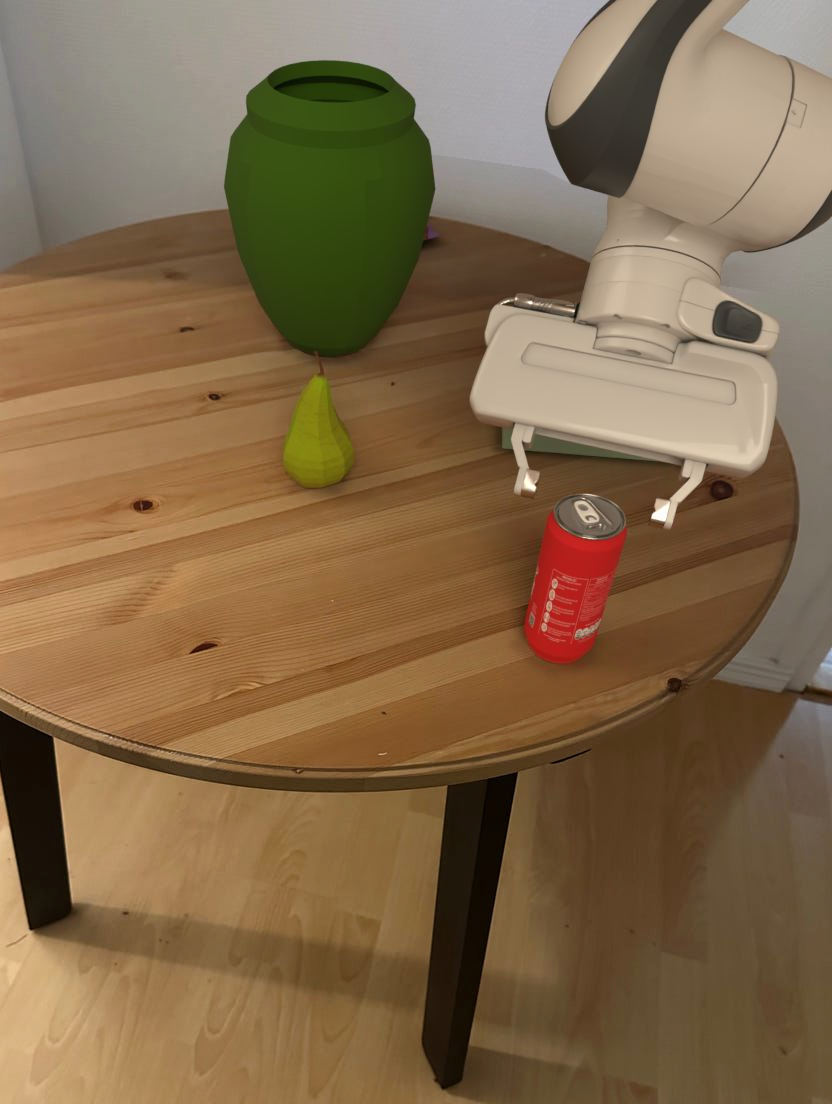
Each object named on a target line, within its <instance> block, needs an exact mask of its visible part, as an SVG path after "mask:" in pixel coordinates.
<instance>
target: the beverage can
mask: <svg viewBox="0 0 832 1104" xmlns="http://www.w3.org/2000/svg"><path fill="white" fill-rule="evenodd" d="M627 534H628V528H627V517H626V514H625V512H624V510H623V509H622V508H621V507H620V506H619V505H618V504H617V503H616V502H613V500H610V499H609V498H606V497H604V496H601V495H598V494H593V493H584V492H583V493H580V492H579V493H573V494H568V495H566V496H564V497H562V498H560V499H559V500H558V501H556V503H555V504H554V506H553V509H552V510H551V511H550V513H549V514H548V515H547V519H546V524H545V528H544V533H543V536H542V541H541V547H540V550H539V555H538V559H537V565H536V569H535V573H534V577H533V583H532V586H531V592H530V596H529V601H528V605H527V610H526V615H525V619H524V623H523V624H524V625H523V630H524V636H526V640H527V645H528V648H529V649H530V651H531V652H532V653H533V654H534V655H535V656H537V658H539V659H541V660H543V661H545V662H548V663H551V664H557V665H567V664H573V663H575V662H577V661H579V660H581V659H582V658H583V657H584V656H585V654H586V653H588V652H589V651H590V650H591V649H592V647H593V646H594V645H595V642H596V638H597V636H598V632H599V629H600V625H601V622H602V619H603V616H604V612H605V609H606V605H607V602H608V599H609V594H610V592H611V589H612V585H613V582H614V579H615V575H616V573H617V569H618V565H619V562H620V559H621V555H622V552H623V549H624V545H625V542H626V539H627Z"/></svg>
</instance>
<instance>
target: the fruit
mask: <svg viewBox="0 0 832 1104" xmlns="http://www.w3.org/2000/svg"><path fill="white" fill-rule="evenodd" d="M314 354H315V355H314V356H315V358H316V361H317V364H318V365H319V366H318V367H319V372H317V373H315V374H314V375H313V376H312V378H311V379H310V381H309V382H308V384H307V385H305V387H304V389H302V391H301V393H300V395H299V397H298V399H297V401H296V404H295V405H294V409H293V412H292V415H291V419H290V423H289V426H288V429H287V432H286V434H285V436H284V438H283V442H282V462H283V469H284V471H285V473H286V475H287V476H288V477H289V478H290V479H291V480H293V481H294V482H296V483H297V484H298V485H300V486H302V487H303V488H308V489H323V488H325V487H329V486H332V485H334V484H337V483H339V482H341V481H342V480H343V478H344V477H345V476H346V475H347V474H348V473H349V472H350V471H351V470H352V468H353V466H354V463H355V449H354V446H353V442H352V440H351V437H350V433H349V430H348V428H347V427H346V425H345V423H344V422H343V421H342V419H341V418H340V417H339V414H338V412H337V410H336V408H335V405H334V401H333V396H332V392H331V387H330V384H329V381H328V379H327V377H326V375H325V371H324V367H323V364H322V361H321V357H320V356H318V353H317V351H315V352H314Z"/></svg>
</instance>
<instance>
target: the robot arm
mask: <svg viewBox="0 0 832 1104" xmlns="http://www.w3.org/2000/svg"><path fill="white" fill-rule="evenodd" d="M749 1H750V0H608V1H607V2H606V3H605V4H603V5H602V6H601V7H600V8H599V9H598V10H597V11H596V12H595V14H593V16H592V17H591V18H590V19H589V20H588V21H587V23H585V25H584V26H583V27H582V29H581V30H580V31H579V33H578V34H577V36H576V37H575V39H574V40H573V42H572V43H571V45H570V47H569V48H568V49H567V51H566V53H565V55H564V57H563V59H562V61H561V63H560V64H559V67H558V69H557V71H556V74H555V76H554V79H553V80H552V84H551V86H550V89H549V92H548V96H547V100H546V103H545V111H544V122H545V127H546V132H547V135H548V139H549V141H550V144H551V148H552V150H553V152H554V155H555V157H556V160H557V162H558V165H559V166H560V167H561V170H562V171H563V174H564V175H565V177H566V179H567V180H568V182H569V183H570V184H571V185H572V186H576V187H579V188H583V189H586V190H590V191H592V192H597V193H600V194H603V195H607V200H606V225H605V229H604V233H603V235H602V237H601V239H600V241H599V243H598V244H597V246H596V247H595V249H594V251H593V254H592V256H591V260H590V263H589V268H588V271H587V275H586V279H585V283H584V287H583V290H582V294H581V296H580V301H579V302H574V301H568V300H561V299H557V298H556V299H555V298H549V299H548V298H543V297H537V296H535V295H533V294H530V293H516V294H515V295H514V297H506V298H503V299H501V300H500V301H498V302H497V303H495V305H493V307H492V308H491V309H490V312H489V314H488V316H487V319H486V324H485V327H484V332H483V342H484V346H485V348H486V350H485V352H484V354H483V357H482V358H481V361H480V364H479V366H478V368H477V372H476V375H475V377H474V381H473V383H472V387H471V390H470V393H469V407H470V409H471V411H472V413H473V415H474V416H475V418H476V419H477V421H478V422H479V423H481V424H484V425H488V426H493V427H498V428H502V427H503V428H507V429H512V430H513V433H512V437H511V442H512V446H513V449H512V450H513V453H514V457H515V461H516V464H517V468H518V472H517V476H516V480H515V484H514V488H513V495H514V496H517V497H521V498H525V499H530V500H535V498H536V496H537V492H538V489H537V487H538V486H539V484H540V480H541V478H542V477H541V471H538V470H535V469H530V466H529V463H528V459H527V456H526V452H525V450H524V448H523V446H524V447H525V448H528V449H530V448H532V444H533V441H534V437H535V435H540V436H544V437H549V438H554V439H558V440H563V441H568V442H572V443H577V444H582V445H586V446H591V447H595V448H600V449H605V450H609V451H614V452H619V453H623V454H628V455H633V456H637V457H642V458H647V459H651V460H656V461H655V462H659V461H660V462H661V463H666V464H671V465H675V466H679V467H680V470H679V475H678V478H677V479H678V482H679V483H683V485H682V486H680V488H679V489H677V491H676V492H675V493H674V494H673V495H672V496H671V497H670V498H669V499H665V498H659V497H656V498H655V499H654V502H653V505H652V509H651V512H652V513H651V515H650V516H649V519H648V524H647V526H649V527H652V528H653V527H654V528H657V529H661V530H665V531H670V530H671V529H672V526H673V523H674V521H675V520H674V519H675V516H676V513H677V508H678V507H679V505H680V504H682V503H683V501H684V500H686V498H688V496H689V495H690V494H691V493H693V492H694V490H696V488H697V487H698V486H700V484H701V483H702V482H703V479H704V475H705V472H708V473H712V474H716V475H720V476H725V477H726V476H727V477H731V478H735V479H746V478H747V477H749V476H751V475H752V474H754V473H755V472H757V471H758V470H760V469H761V467H762V466H763V465H764V463H765V462H766V460H767V457H768V453H769V450H770V445H771V441H772V436H773V432H774V427H775V419H776V415H777V414H776V413H777V405H778V395H779V394H778V393H779V384H778V383H779V381H778V375H777V372H776V370H775V368H774V366H773V364H772V363H771V362H770V361H769V360H770V358H771V357H772V355H773V353H774V350H775V349H776V346H777V343H778V341H779V336H780V329H781V328H780V324H779V322H778V320H776V319H774V317H772V316H770V315H769V314H767V313H765V312H763V311H761V310H759V309H757V308H755V307H753V306H751V305H749V304H747V303H746V302H744V301H741V300H740V299H738V298H736V297H734V296H733V295H731V294H730V293H728V292H726V291H724V290H722V289H721V288H720V287H721V284H722V273H723V271H722V270H723V265H724V263H725V261H726V259H727V258H728V257H729V256H730V255H731V254H733V253H735V252H743V253H749V254H751V253H752V254H753V253H759V252H764V251H768V250H772V249H777V248H779V247H782V246H785V245H787V244H790V243H793V242H795V241H797V240H800V239H801V238H803V237H805V236H807V235H809V234H810V233H812V232H813V231H815V230H817V229H818V228H820V227H821V226H822V225H824V224H826V222H828V221H829V220H830V219H831V218H832V77H830V76H827V75H825V74H823V73H821V72H819V71H817V70H816V69H813V68H811V67H809V66H807V65H805V64H803V63H801V62H798V61H796V60H795V59H793V58H790V57H788V56H786V55H783V54H777V53H775V52H773V51H771V50H769V49H766V48H765V47H762V46H760V45H758V44H756V43H754V42H751V41H750V40H747V39H745V38H743V37H741V36H739V35H737V34H735V33H733V32H731V31H729V30H727V29H725V28H724V27H725V26H726V25H727V24H728V23H729V22H730V21H731V20H732V19H733V18H734V17H735V16H736V15H737V14H738V13H739V12H740V11H741V10H742V9H743V8H744V7H745V6H746V5H747V4H748V3H749ZM511 304H512V306H510V305H511Z"/></svg>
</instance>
